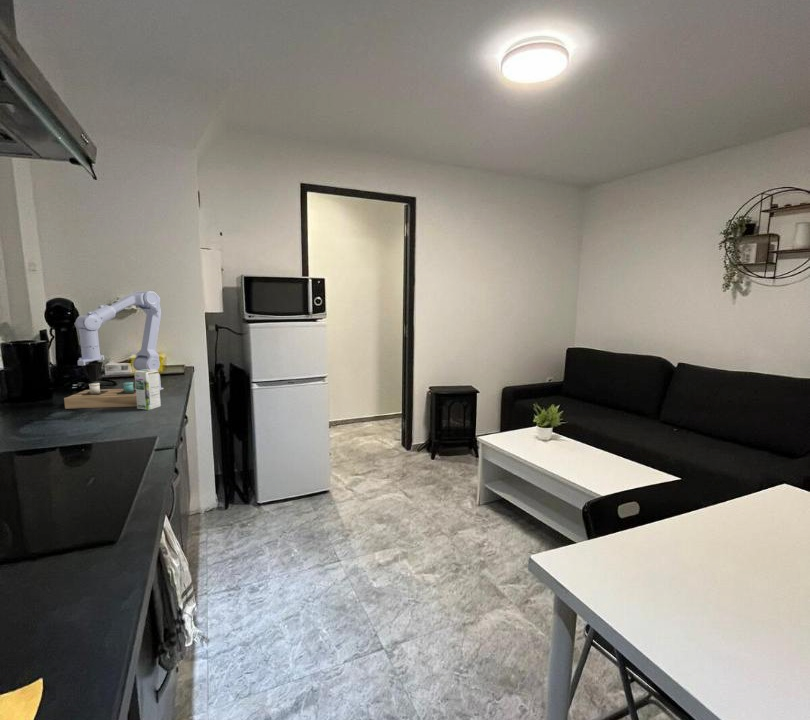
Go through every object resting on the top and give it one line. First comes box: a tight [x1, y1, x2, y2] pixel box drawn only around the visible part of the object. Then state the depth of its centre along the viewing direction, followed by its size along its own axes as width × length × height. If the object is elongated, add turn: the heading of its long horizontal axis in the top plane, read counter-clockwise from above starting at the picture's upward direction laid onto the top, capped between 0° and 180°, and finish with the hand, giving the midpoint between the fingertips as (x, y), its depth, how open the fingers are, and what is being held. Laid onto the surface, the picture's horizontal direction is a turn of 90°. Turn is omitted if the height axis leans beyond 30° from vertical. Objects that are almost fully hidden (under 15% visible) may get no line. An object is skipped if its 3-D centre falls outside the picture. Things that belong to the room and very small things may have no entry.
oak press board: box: [63, 388, 137, 410], centre depth 163 cm, size 14×26×4 cm, turn 100°
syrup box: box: [133, 369, 162, 411], centre depth 155 cm, size 6×6×14 cm
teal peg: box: [122, 381, 135, 393], centre depth 163 cm, size 3×3×4 cm
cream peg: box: [88, 382, 101, 394], centre depth 161 cm, size 3×3×4 cm
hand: (93, 380), depth 161 cm, fingers closed
